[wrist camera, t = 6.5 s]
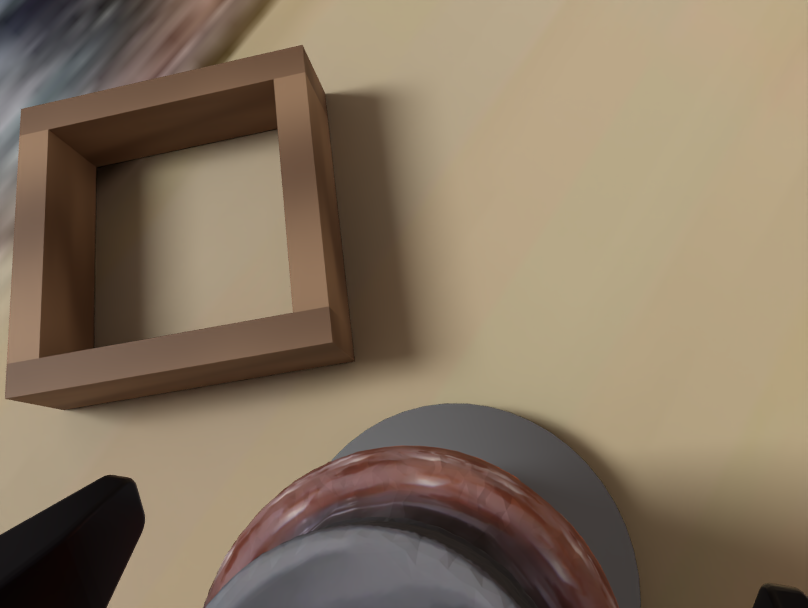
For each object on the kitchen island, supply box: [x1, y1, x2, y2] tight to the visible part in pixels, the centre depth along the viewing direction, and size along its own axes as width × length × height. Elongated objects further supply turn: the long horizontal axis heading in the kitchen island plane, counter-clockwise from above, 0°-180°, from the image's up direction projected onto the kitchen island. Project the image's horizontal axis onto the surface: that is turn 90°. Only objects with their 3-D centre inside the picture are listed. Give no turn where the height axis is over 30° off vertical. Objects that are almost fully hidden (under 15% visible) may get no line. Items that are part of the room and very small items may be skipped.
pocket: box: [5, 45, 355, 410], centre depth 20 cm, size 10×10×2 cm
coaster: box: [332, 404, 641, 608], centre depth 17 cm, size 9×9×1 cm
